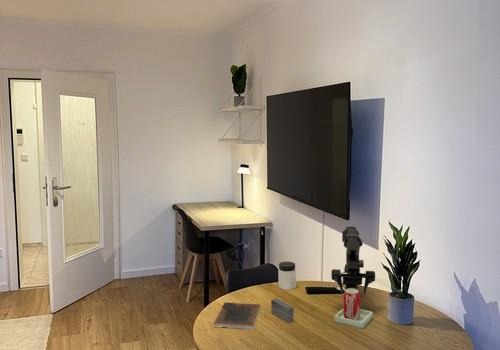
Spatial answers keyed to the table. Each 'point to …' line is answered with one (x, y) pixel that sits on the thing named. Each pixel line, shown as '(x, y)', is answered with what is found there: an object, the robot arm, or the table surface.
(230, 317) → the picture frame
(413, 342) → the table surface
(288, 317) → the grey rectangular block
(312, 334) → the table surface
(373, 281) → the robot arm
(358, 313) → the soda can
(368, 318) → the tray
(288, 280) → the jar
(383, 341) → the table surface
